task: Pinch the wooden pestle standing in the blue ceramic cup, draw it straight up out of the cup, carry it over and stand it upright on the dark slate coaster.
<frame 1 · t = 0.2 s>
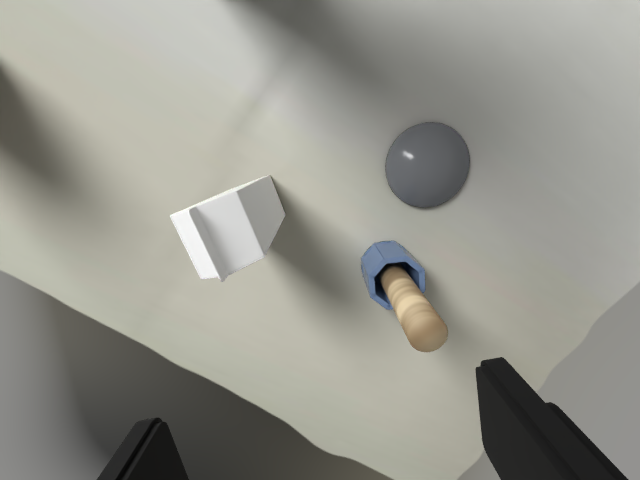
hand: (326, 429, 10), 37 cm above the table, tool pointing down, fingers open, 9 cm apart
cup: (385, 264, 47), on the table
wooden pestle: (386, 266, 47), point 1 cm above the table, touching cup
milk: (258, 202, 45), on the table
coaster: (426, 165, 44), on the table
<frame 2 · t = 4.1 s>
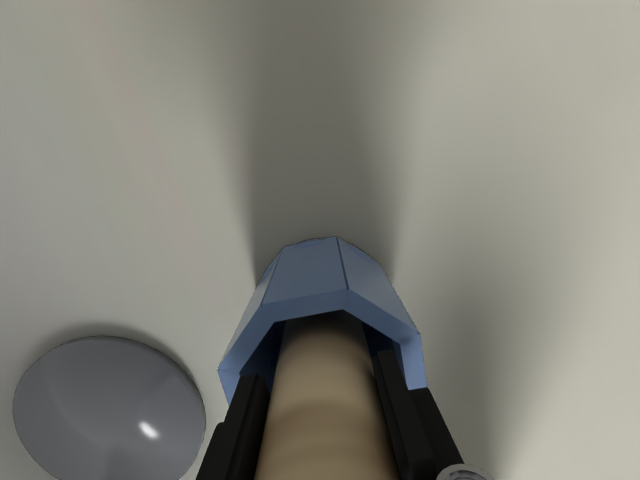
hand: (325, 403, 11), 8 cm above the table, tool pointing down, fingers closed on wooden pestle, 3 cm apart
cup: (322, 300, 18), on the table
wooden pestle: (323, 307, 17), point 1 cm above the table, touching cup, gripper
coaster: (116, 415, 20), on the table
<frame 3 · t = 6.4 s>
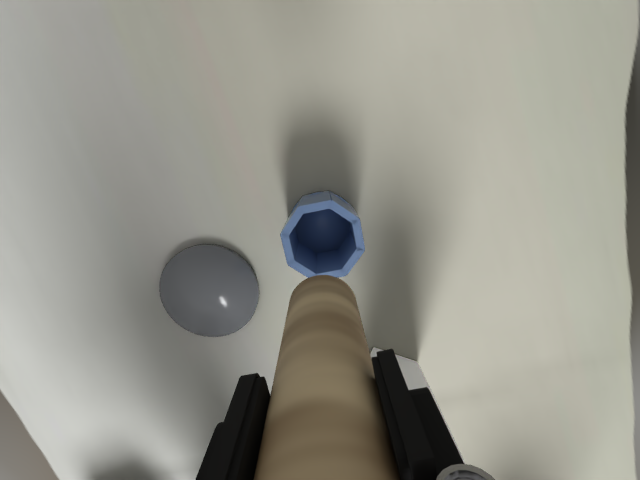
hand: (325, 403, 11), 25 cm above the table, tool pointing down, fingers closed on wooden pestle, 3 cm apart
cup: (322, 224, 35), on the table
wooden pestle: (322, 306, 17), point 18 cm above the table, touching gripper
milk: (385, 372, 40), on the table
coaster: (211, 290, 37), on the table
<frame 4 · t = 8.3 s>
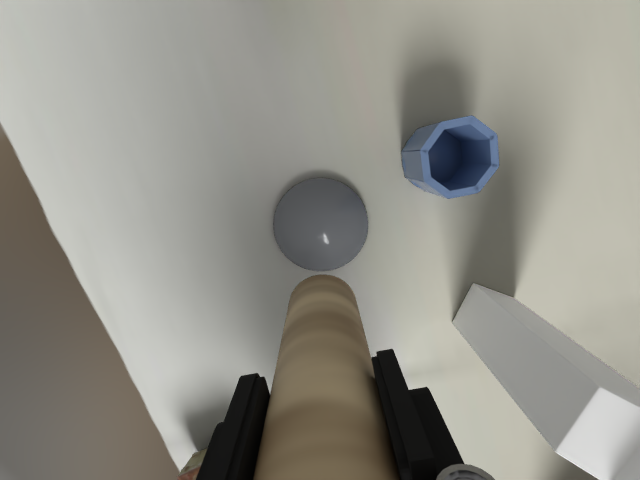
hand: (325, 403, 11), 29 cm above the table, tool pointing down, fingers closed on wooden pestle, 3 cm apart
decorative box: (255, 479, 48), on the table
cup: (433, 158, 36), on the table
wooden pestle: (322, 306, 17), point 22 cm above the table, touching gripper
milk: (482, 309, 41), on the table
coaster: (320, 225, 38), on the table
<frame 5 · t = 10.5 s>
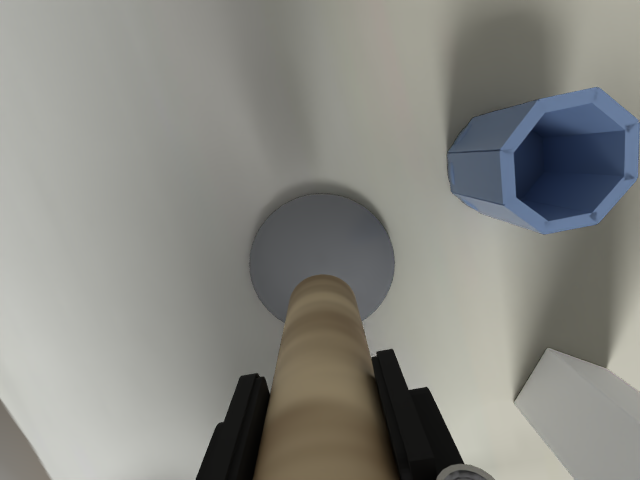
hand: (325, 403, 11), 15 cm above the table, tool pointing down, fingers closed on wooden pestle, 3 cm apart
cup: (497, 163, 24), on the table
wooden pestle: (322, 306, 17), point 8 cm above the table, touching gripper
milk: (557, 384, 28), on the table
coaster: (322, 264, 25), on the table
when the fingers open (9 cm above the table, at t = 12.6 s): wooden pestle stays where it is, resting on coaster.
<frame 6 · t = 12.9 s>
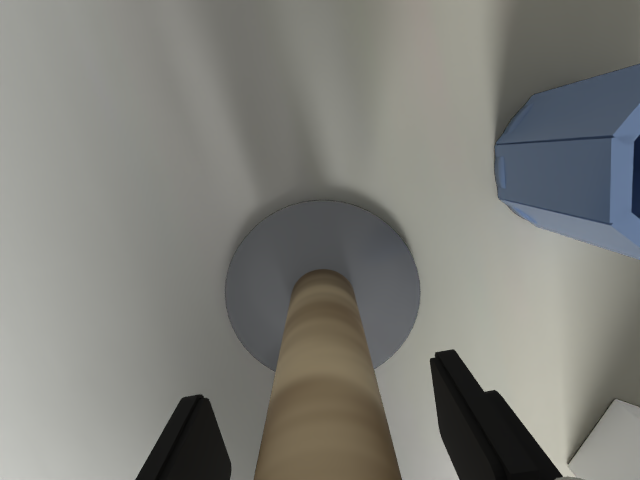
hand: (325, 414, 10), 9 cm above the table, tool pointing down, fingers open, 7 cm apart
cup: (562, 158, 17), on the table
wooden pestle: (322, 299, 18), point 1 cm above the table, touching coaster
milk: (624, 442, 22), on the table
coaster: (322, 293, 19), on the table
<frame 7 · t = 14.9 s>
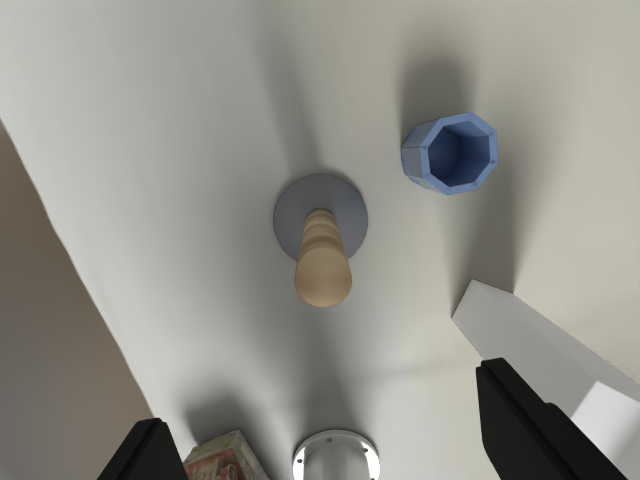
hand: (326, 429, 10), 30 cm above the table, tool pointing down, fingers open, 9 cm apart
decorative box: (256, 472, 49), on the table
cup: (433, 154, 37), on the table
wooden pestle: (320, 223, 38), point 1 cm above the table, touching coaster
milk: (480, 306, 42), on the table
coaster: (320, 221, 38), on the table
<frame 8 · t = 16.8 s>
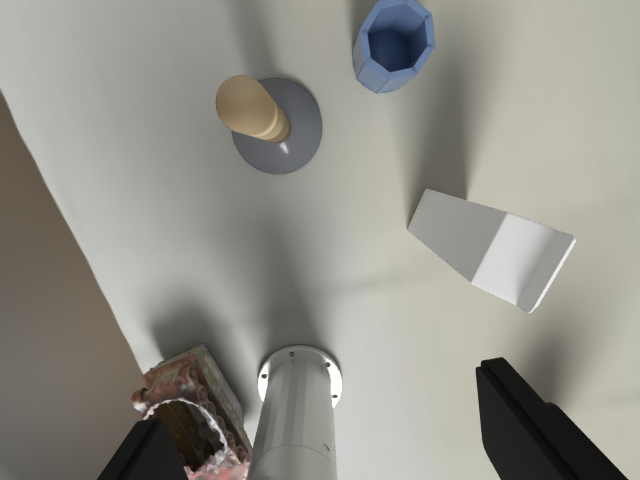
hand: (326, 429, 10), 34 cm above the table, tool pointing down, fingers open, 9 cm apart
decorative box: (223, 391, 50), on the table
cup: (383, 59, 38), on the table
wooden pestle: (276, 127, 39), point 1 cm above the table, touching coaster
milk: (435, 216, 43), on the table
coaster: (277, 128, 40), on the table
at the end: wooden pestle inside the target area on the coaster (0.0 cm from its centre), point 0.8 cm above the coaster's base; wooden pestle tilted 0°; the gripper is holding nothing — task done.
